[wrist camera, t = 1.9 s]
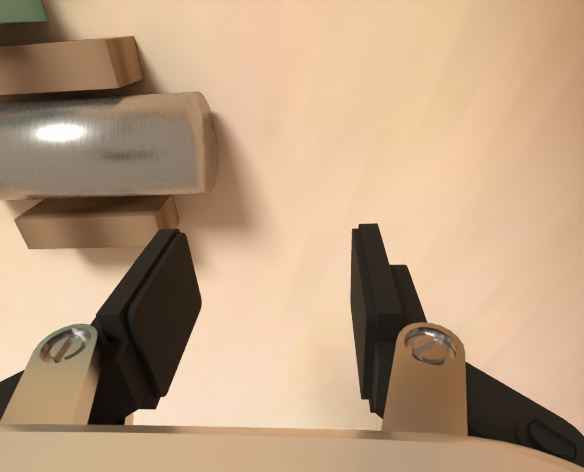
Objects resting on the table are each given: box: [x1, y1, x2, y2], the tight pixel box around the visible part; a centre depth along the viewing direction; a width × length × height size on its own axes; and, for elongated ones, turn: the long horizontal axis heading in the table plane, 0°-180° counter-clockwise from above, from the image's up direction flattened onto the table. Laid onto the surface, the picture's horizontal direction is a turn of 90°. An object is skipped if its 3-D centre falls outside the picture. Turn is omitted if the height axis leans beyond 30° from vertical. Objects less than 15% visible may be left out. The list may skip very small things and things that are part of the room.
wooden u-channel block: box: [0, 36, 179, 249], centre depth 25 cm, size 10×13×4 cm
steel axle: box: [0, 92, 218, 200], centre depth 24 cm, size 18×6×6 cm, turn 93°
